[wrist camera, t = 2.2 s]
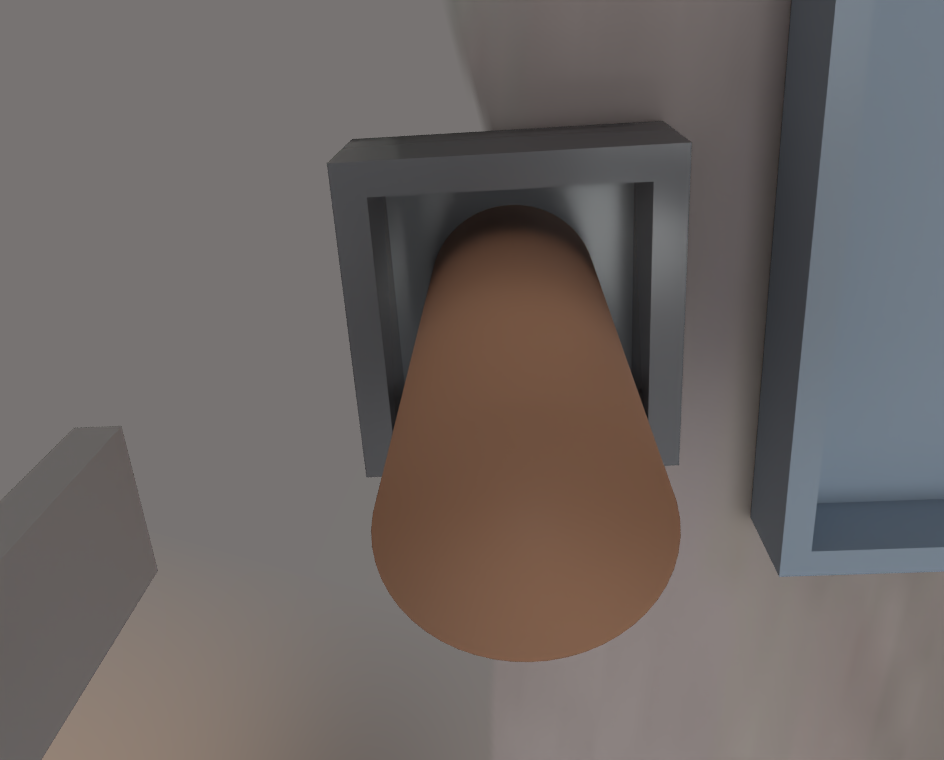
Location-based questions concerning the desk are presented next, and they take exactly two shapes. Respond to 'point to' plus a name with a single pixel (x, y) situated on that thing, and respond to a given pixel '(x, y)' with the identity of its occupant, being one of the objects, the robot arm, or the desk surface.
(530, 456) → the dowel
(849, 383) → the tray
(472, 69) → the desk surface
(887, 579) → the desk surface
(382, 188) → the grey square open box
